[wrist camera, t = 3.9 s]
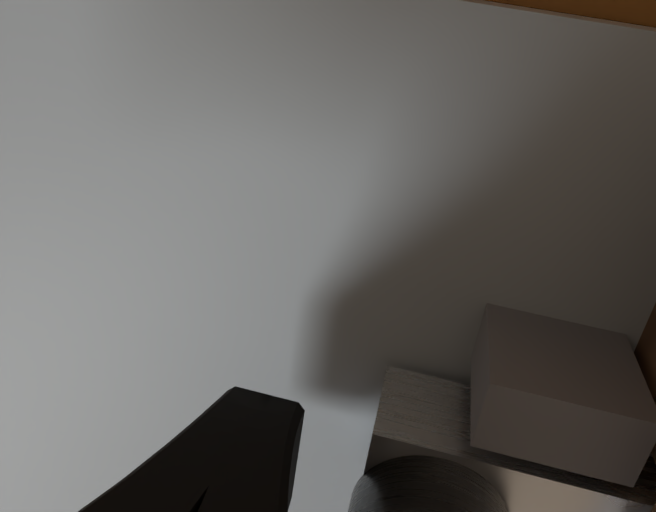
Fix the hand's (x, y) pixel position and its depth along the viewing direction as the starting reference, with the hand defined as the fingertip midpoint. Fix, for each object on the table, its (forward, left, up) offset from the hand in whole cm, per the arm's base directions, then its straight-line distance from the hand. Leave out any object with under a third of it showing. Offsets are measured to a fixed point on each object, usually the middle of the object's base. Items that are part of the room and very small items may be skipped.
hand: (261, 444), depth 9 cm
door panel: (0, +2, -3) cm, 3 cm away
